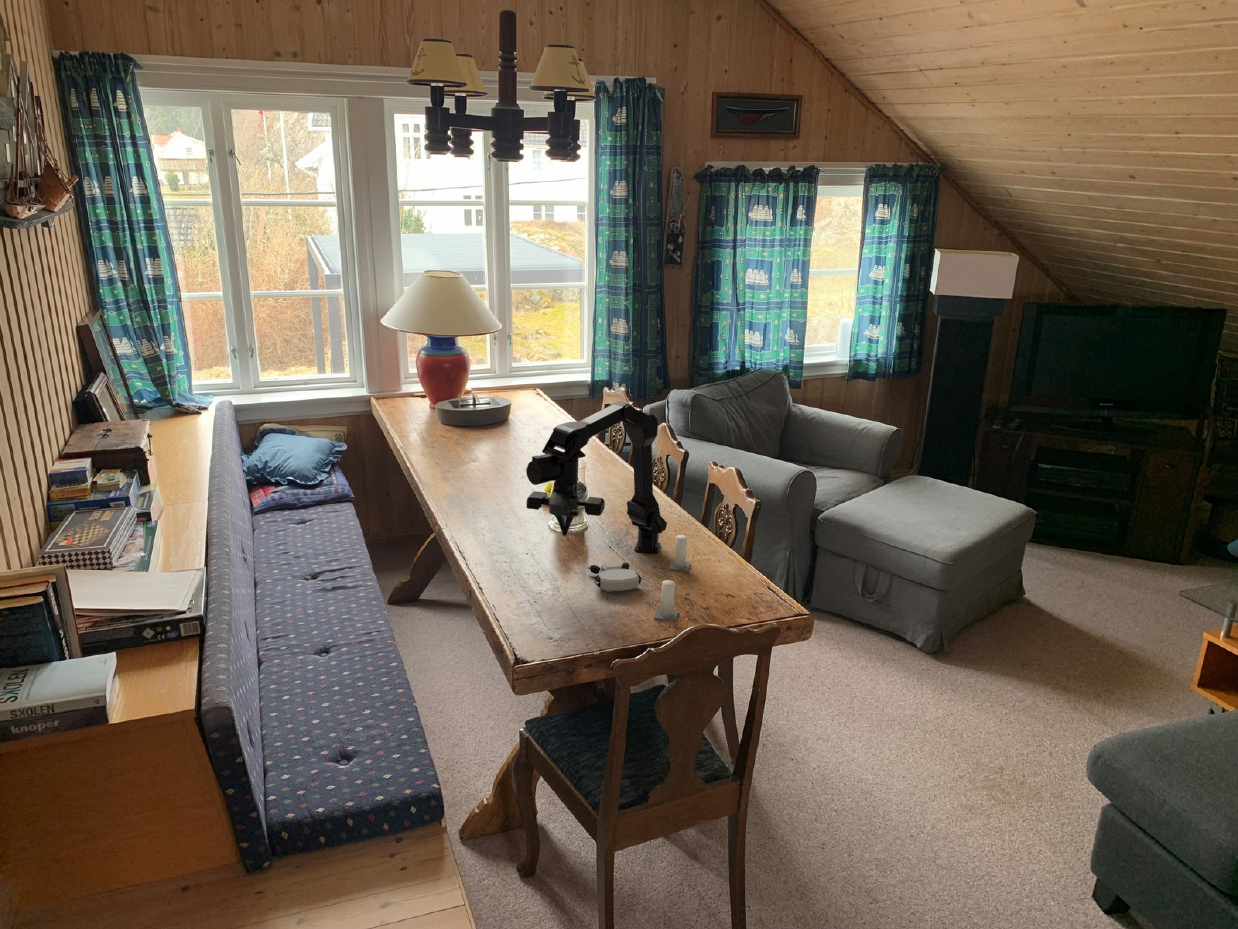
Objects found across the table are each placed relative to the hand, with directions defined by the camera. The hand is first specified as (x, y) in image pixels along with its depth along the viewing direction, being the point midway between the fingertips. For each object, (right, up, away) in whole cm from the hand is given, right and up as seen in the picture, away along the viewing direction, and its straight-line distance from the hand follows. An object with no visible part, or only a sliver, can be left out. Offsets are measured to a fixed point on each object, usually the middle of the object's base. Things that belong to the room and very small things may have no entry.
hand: (565, 535), depth 223 cm
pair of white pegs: (+27, -14, -1) cm, 30 cm away
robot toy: (+12, -13, +2) cm, 18 cm away
